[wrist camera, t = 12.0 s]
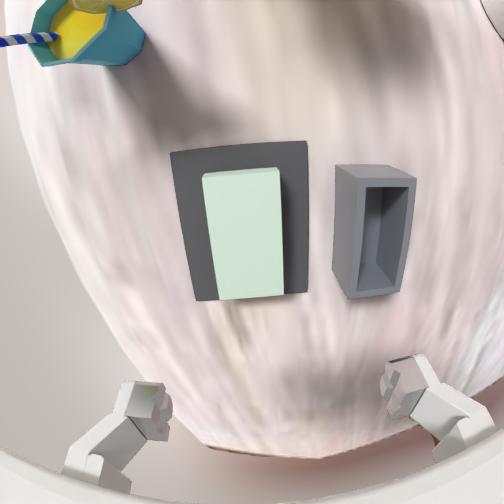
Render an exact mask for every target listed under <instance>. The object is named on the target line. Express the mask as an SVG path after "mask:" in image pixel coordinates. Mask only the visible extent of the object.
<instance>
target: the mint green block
mask: <svg viewBox="0 0 504 504" xmlns="http://www.w3.org/2000/svg"><path fill="white" fill-rule="evenodd" d="M202 184H203V192H204V199H205V207H206V214H207V221H208V229H209V235H210V242H211V249H212V256H213V262H214V269H215V275H216V281H217V287H218V293H219V299H220V300H229V299H242V298H254V297H266V296H276V295H284V282H283V245H282V217H281V193H280V173H279V170H278V169H277V167H272V168H258V169H245V170H234V171H223V172H214V173H205V174H204V175H203V177H202Z"/></svg>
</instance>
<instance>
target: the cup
mask: <svg viewBox="0 0 504 504" xmlns="http://www.w3.org/2000/svg"><path fill="white" fill-rule="evenodd" d="M141 4H142V0H47V1H46V2H45V3H44V4H43V5H42V6H41V7H40V8H39V9H38V10H37V12H36V15H35V18H34V22H33V25H32V29H31V33H27V34H17V35H9V36H3V37H0V47H5V46H12V45H19V44H27V43H28V47H29V48H30V50H31V51H32V53H33V54H34V56H35V57H36V59H37V60H38V62H39V63H40V64H41V66H42V67H45V66H53V65H59V64H65V63H76V64H93V65H105V66H111V65H126V64H127V63H128V62H129V61H130V60H132V59H133V58H134V57H135V56H136V55H137V54H139V53H140V52H141V51H142V46H143V41H144V37H145V32H144V31H143V30H142V28H141V27H140V26H139V25H138V24H137V22H136V21H135V20H134V19H133V17H132V16H131V15H130V14H129V13H128V12H127V9H130V8H132V7H135V6H138V5H141Z"/></svg>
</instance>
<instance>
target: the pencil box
mask: <svg viewBox="0 0 504 504" xmlns="http://www.w3.org/2000/svg"><path fill="white" fill-rule="evenodd" d="M416 182H417V178H415V177H413V176H411V175H409V174H407V173H404V172H402V171H400V170H398V169H395V168H393V167H391V166H388V165H335V219H334V242H333V260H332V270H333V272H334V274H335V276H336V278H337V280H338V282H339V284H340V285H341V287H342V289H343V291H344V293H345V295H346V297H347V299H355V298H363V297H370V296H376V295H383V294H390V293H396V292H400V288H401V283H402V278H403V273H404V268H405V263H406V258H407V252H408V247H409V240H410V234H411V227H412V220H413V212H414V203H415V194H416Z"/></svg>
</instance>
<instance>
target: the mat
mask: <svg viewBox="0 0 504 504" xmlns="http://www.w3.org/2000/svg"><path fill="white" fill-rule="evenodd" d="M170 158H171V165H172V172H173V179H174V185H175V192H176V198H177V204H178V211H179V216H180V222H181V228H182V233H183V239H184V244H185V250H186V255H187V260H188V265H189V270H190V275H191V280H192V284H193V289H194V294H195V298H196V301H203V300H218V299H219V293H218V287H217V281H216V275H215V269H214V262H213V256H212V249H211V242H210V235H209V229H208V221H207V214H206V207H205V199H204V192H203V184H202V177H203V175H204V174H205V173H214V172H223V171H234V170H245V169H258V168H272V167H277V169H278V170H279V173H280V193H281V217H282V245H283V282H284V294H290V293H300V292H307V271H308V174H307V143H306V141H286V142H267V143H252V144H240V145H229V146H219V147H210V148H201V149H193V150H186V151H179V152H172V153H170Z"/></svg>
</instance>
